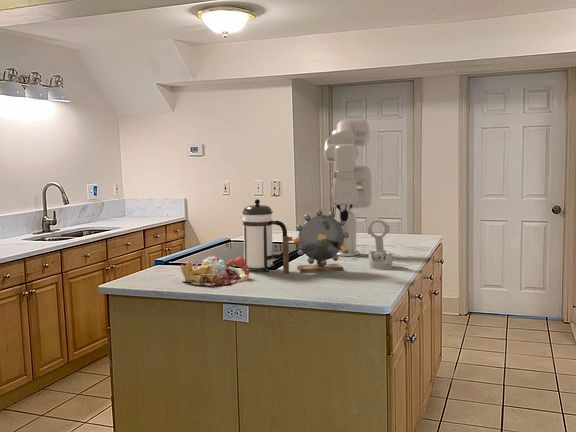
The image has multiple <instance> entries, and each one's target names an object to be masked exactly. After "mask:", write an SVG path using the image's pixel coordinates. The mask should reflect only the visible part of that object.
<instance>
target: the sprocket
mask: <svg viewBox="0 0 576 432" xmlns="http://www.w3.org/2000/svg"><path fill="white" fill-rule="evenodd" d="M315 214H316V215H313V216H310V215H309V214H304V216H303V220H305V221H304V222H303V223H302V225H300V224H296V225H295V230H296V231H297V232H298V235H297V236H298V237H293V241H292V242H293V243H294V244H295V245H298V246H299V247H300V249H299V250H298V251H297V254H298V256H300V257H303V256H304V255H305V256H306V257H308V258H307V260H306V261H307V262H308V264H309V265H314V263H315V261H317V260H318V261H320V264H321V265H322V266H325V265H326V264H328V263H327V260H330V259H331V260H333V261H335V262H337V261H338V260H339V256H338V255H336V254H337V253H338V252H339V251H342V252H344V253H348V252H349V248H348V247H347V246H345V245H344V244H343V242H344V238H348V237H349V234H348V233H347V232H343V229H342V227H341V226H344V224H345V222H344V221H341V220H339V221H338V222H337V219H336V218H335V217H336V212H333V211H329V213H328V215H326V214H323V211H322V210H321V209H317V210H315Z"/></svg>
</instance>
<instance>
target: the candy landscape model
mask: <svg viewBox="0 0 576 432" xmlns="http://www.w3.org/2000/svg"><path fill="white" fill-rule="evenodd" d="M225 262H226V261H225V260H223V259H218V257H216V256H207V258H204V259H202V260H201V265H199V264H198V262H197V263H196V264H194V263H193V261H192V260H186V261H185V265H184V264H180V271H181V273H182V275H183V277H184V278H183V279H181V281H182V282H183V283H184V282H185V283H190V284H192V285H198V286H209V287H210V286H217V287H219V286H220V285H225V286H228V285H231V284H234V283H240V282H244V281H248V280H249V279H250V271H249V269H248V266H247V265H245V260H244V257H242V256H238V257H236V258H235V259H230V260H228V262H227V263H225ZM234 266H236V267H237V268H240V269H241V271H243V272H244V274H242V273H240V272H239V270H238V269H237V268H236V267H234Z"/></svg>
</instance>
